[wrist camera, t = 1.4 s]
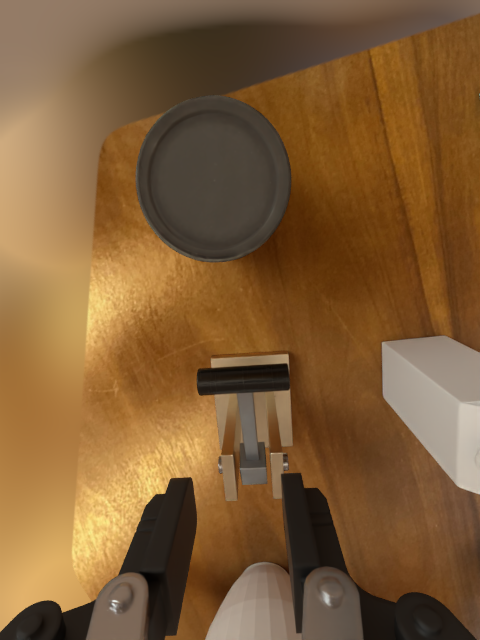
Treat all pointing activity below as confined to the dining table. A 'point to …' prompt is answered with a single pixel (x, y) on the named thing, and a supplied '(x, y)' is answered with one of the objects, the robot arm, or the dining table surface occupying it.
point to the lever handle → (246, 406)
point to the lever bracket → (269, 423)
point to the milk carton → (438, 400)
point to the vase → (257, 607)
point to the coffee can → (213, 178)
